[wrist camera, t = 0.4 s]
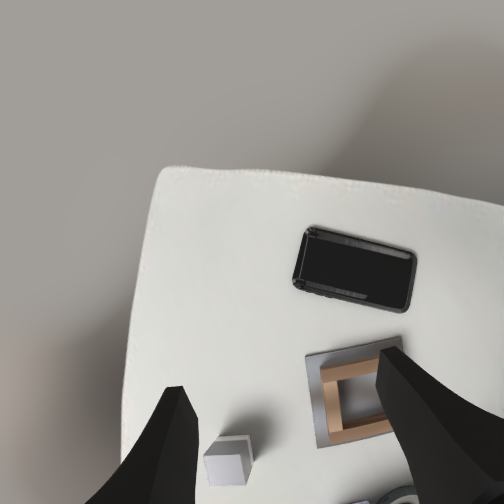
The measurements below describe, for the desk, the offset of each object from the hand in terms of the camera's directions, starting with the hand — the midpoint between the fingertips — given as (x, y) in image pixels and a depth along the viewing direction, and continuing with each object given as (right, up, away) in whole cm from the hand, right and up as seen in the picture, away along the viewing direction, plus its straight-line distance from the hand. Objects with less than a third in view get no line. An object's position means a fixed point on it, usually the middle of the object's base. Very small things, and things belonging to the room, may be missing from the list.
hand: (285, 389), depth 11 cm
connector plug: (-3, -20, +24) cm, 31 cm away
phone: (+12, +2, +28) cm, 30 cm away
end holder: (+12, -12, +24) cm, 29 cm away
